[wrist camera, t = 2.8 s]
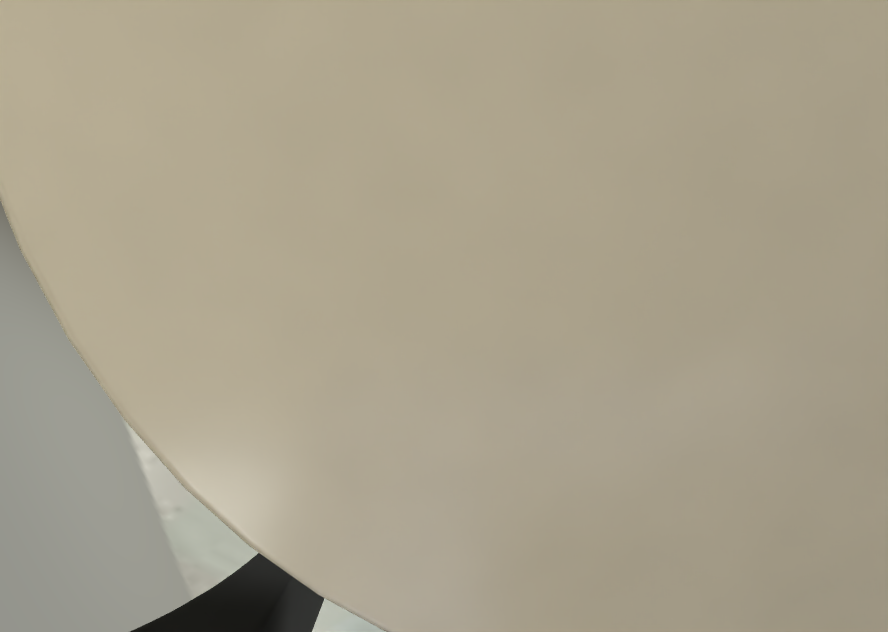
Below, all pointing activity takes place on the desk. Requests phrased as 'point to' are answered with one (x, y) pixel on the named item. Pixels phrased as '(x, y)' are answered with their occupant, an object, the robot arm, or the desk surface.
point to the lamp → (485, 292)
